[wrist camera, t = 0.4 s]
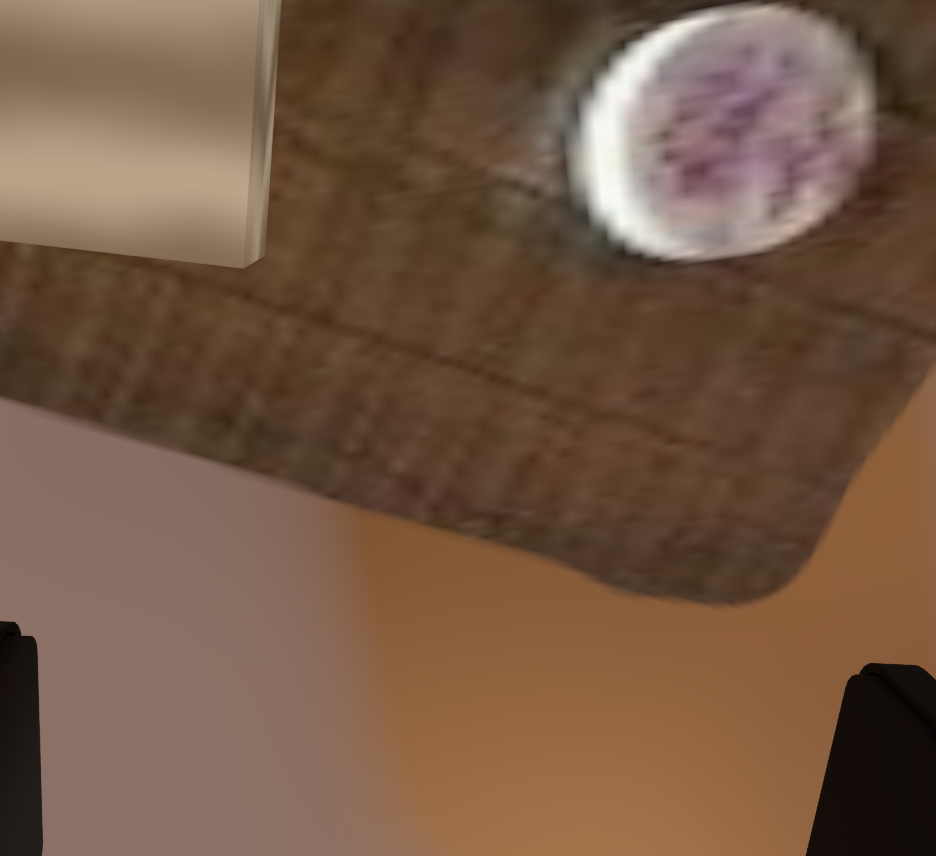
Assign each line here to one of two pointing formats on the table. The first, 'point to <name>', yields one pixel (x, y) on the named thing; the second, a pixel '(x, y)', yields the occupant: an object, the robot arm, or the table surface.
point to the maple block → (138, 126)
